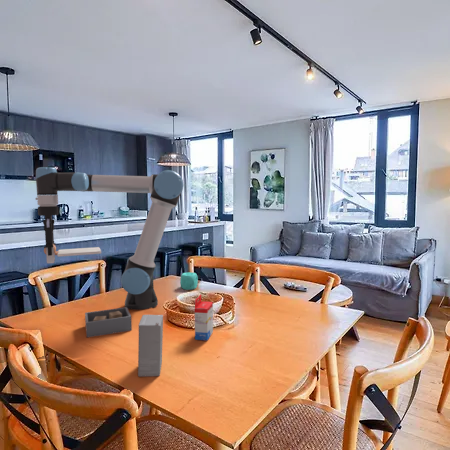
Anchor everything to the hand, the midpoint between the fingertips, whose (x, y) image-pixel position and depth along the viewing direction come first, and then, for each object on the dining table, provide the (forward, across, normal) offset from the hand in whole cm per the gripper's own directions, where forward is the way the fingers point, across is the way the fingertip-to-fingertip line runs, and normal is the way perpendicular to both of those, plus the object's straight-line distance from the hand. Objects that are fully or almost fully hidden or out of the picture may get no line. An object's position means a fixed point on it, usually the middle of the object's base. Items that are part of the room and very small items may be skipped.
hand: (50, 261), depth 143 cm
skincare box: (+25, +59, +29) cm, 70 cm away
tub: (+25, +21, +20) cm, 38 cm away
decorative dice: (+25, -23, +67) cm, 75 cm away
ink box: (+25, +42, +52) cm, 71 cm away
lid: (-3, 0, +9) cm, 9 cm away
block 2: (+24, +19, +23) cm, 38 cm away
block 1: (+24, +22, +17) cm, 37 cm away
